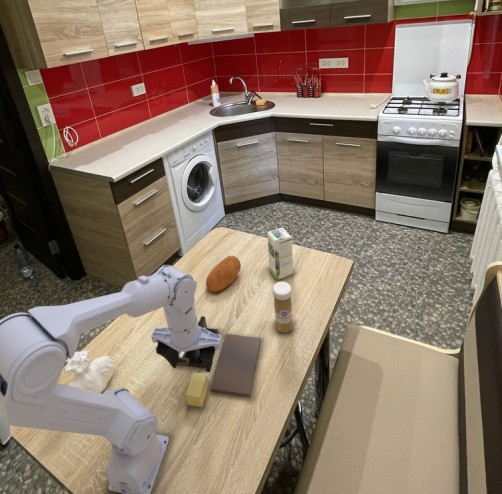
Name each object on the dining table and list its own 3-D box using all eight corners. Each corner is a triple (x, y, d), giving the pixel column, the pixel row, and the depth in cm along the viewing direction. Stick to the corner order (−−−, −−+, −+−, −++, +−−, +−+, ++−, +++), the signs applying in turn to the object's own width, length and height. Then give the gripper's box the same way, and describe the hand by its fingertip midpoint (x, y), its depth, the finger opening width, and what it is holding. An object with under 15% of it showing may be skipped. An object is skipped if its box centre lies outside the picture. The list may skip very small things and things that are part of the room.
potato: (247, 274, 110) (245, 259, 106) (217, 301, 102) (214, 285, 98) (231, 262, 114) (229, 247, 110) (201, 287, 106) (198, 272, 102)
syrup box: (268, 269, 111) (265, 232, 105) (284, 263, 113) (282, 226, 107) (277, 280, 106) (275, 242, 100) (294, 273, 108) (292, 236, 102)
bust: (115, 373, 85) (88, 335, 85) (126, 372, 80) (98, 333, 80) (69, 419, 76) (40, 377, 76) (79, 421, 71) (47, 377, 71)
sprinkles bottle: (279, 336, 88) (276, 296, 83) (273, 322, 92) (270, 283, 87) (295, 330, 89) (294, 291, 84) (288, 316, 93) (286, 278, 88)
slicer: (206, 368, 82) (201, 343, 78) (175, 364, 84) (168, 339, 80) (218, 332, 91) (214, 307, 87) (189, 329, 92) (184, 305, 89)
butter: (202, 407, 74) (199, 397, 73) (187, 405, 75) (185, 395, 73) (208, 384, 79) (206, 374, 77) (195, 382, 79) (193, 372, 78)
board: (250, 397, 75) (249, 394, 75) (210, 391, 77) (210, 388, 77) (260, 340, 88) (260, 337, 87) (226, 336, 89) (226, 334, 89)
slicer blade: (187, 368, 75) (186, 360, 75) (170, 365, 76) (168, 357, 75) (203, 328, 86) (202, 320, 85) (188, 326, 86) (187, 319, 86)
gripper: (222, 307, 71) (229, 352, 76) (156, 301, 73) (168, 344, 79) (212, 337, 64) (221, 384, 70) (141, 329, 67) (155, 375, 73)
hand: (192, 365), depth 74 cm, fingers open, 7 cm apart
